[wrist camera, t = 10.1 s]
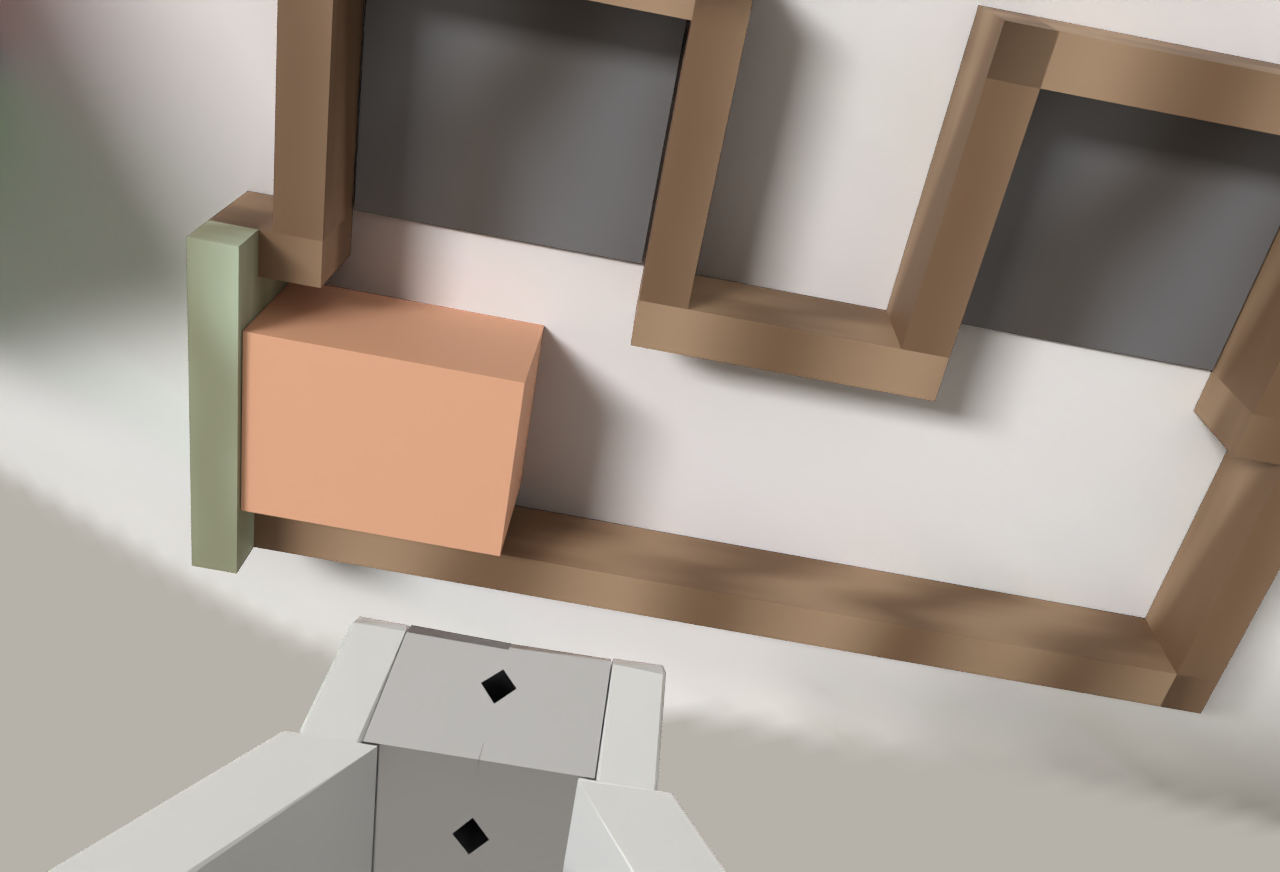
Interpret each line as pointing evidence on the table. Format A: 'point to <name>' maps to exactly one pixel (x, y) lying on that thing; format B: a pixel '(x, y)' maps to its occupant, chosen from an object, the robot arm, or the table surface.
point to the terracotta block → (386, 415)
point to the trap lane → (788, 322)
